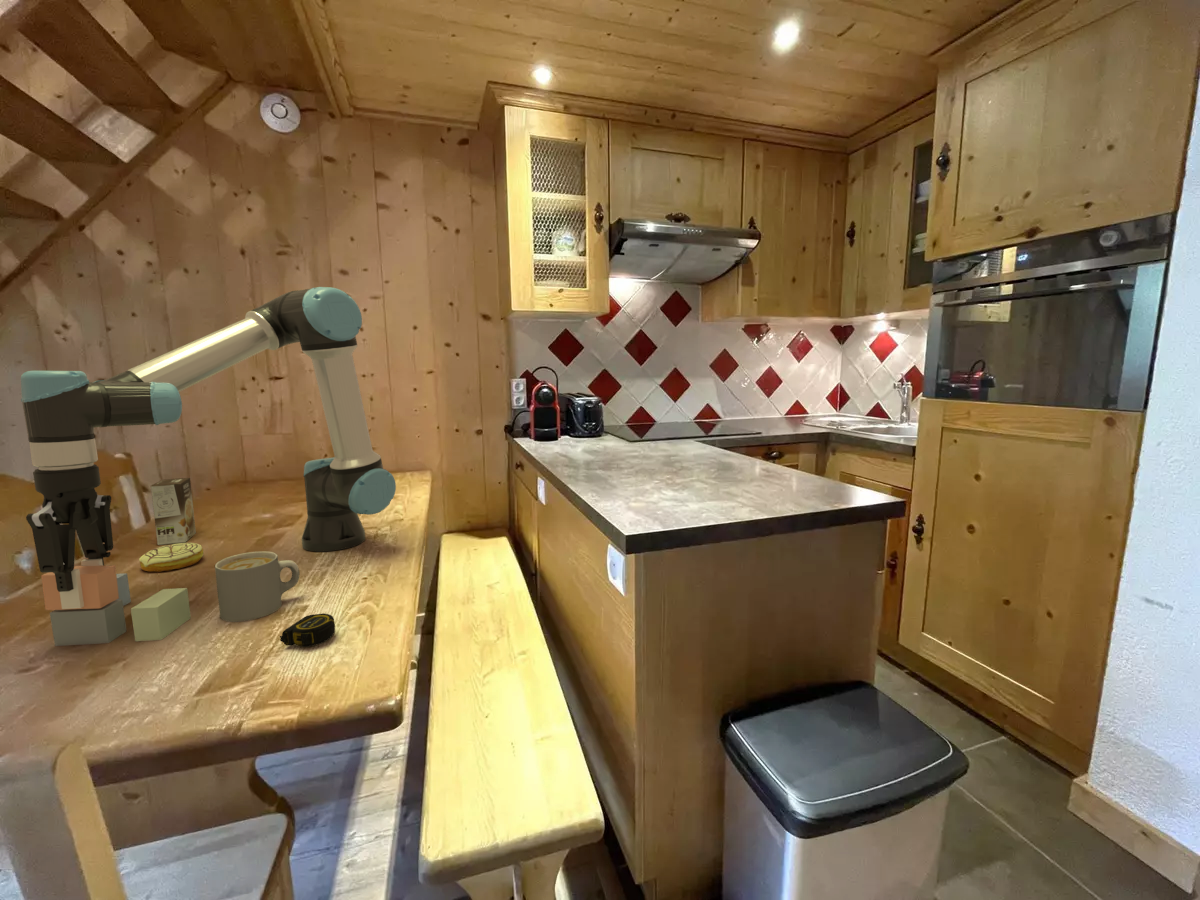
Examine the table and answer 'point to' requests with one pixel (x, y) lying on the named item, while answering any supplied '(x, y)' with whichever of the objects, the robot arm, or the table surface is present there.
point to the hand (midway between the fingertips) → (85, 601)
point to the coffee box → (173, 510)
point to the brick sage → (160, 614)
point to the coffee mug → (252, 585)
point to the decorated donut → (171, 557)
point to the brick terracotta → (85, 587)
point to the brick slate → (88, 624)
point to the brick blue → (123, 588)
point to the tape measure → (309, 631)
